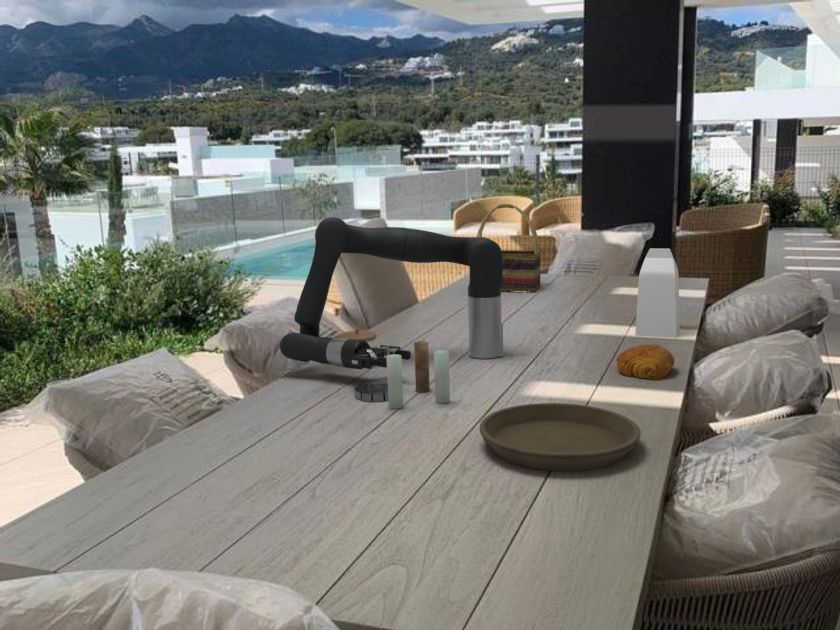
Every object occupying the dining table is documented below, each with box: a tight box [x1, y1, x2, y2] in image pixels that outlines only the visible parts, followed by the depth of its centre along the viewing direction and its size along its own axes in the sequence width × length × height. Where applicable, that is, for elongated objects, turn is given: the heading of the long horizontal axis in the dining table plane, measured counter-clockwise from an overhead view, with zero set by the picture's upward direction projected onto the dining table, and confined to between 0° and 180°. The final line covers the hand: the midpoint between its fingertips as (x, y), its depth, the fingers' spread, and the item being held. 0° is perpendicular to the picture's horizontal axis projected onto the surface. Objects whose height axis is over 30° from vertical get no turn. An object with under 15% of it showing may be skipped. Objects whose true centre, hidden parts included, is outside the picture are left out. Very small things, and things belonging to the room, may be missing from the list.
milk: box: [634, 248, 681, 339], centre depth 257 cm, size 12×12×26 cm
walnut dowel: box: [413, 340, 431, 393], centre depth 205 cm, size 3×3×12 cm
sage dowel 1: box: [385, 354, 404, 410], centre depth 193 cm, size 3×3×12 cm
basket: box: [476, 203, 542, 293], centre depth 342 cm, size 26×15×35 cm, turn 72°
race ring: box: [354, 380, 388, 403], centre depth 204 cm, size 11×11×2 cm
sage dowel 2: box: [433, 349, 451, 405], centre depth 195 cm, size 3×3×12 cm
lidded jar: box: [337, 328, 378, 347], centre depth 236 cm, size 11×11×9 cm
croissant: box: [615, 344, 675, 380], centre depth 216 cm, size 14×16×8 cm
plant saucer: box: [478, 402, 642, 472], centre depth 165 cm, size 31×31×5 cm
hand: (401, 359), depth 208 cm, fingers open, 8 cm apart
